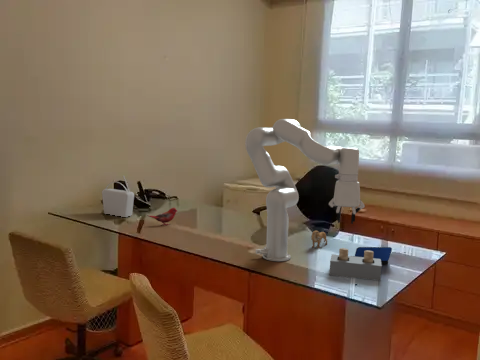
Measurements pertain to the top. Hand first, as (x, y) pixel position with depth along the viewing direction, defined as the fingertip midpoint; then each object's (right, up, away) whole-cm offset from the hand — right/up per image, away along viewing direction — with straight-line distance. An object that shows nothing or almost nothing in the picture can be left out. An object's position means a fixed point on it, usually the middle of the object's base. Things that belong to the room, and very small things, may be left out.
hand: (345, 222), depth 199 cm
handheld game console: (+14, -20, +18) cm, 31 cm away
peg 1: (-1, -17, +2) cm, 17 cm away
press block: (+4, -21, +2) cm, 22 cm away
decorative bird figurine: (-87, -9, +78) cm, 117 cm away
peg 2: (+9, -18, 0) cm, 20 cm away
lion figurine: (-4, -16, +43) cm, 46 cm away
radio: (-118, -5, +102) cm, 156 cm away
